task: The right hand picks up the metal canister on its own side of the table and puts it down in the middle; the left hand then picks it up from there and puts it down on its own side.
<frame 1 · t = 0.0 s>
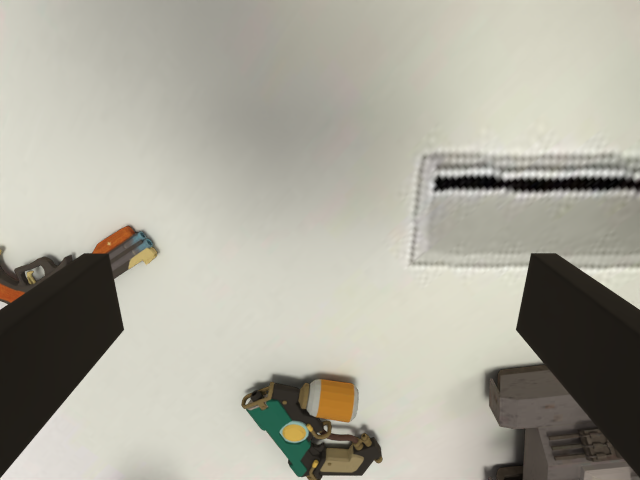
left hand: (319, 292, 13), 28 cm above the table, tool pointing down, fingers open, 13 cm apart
spray gun: (315, 420, 50), on the table
toy: (583, 420, 50), on the table
toy gun: (66, 260, 43), on the table
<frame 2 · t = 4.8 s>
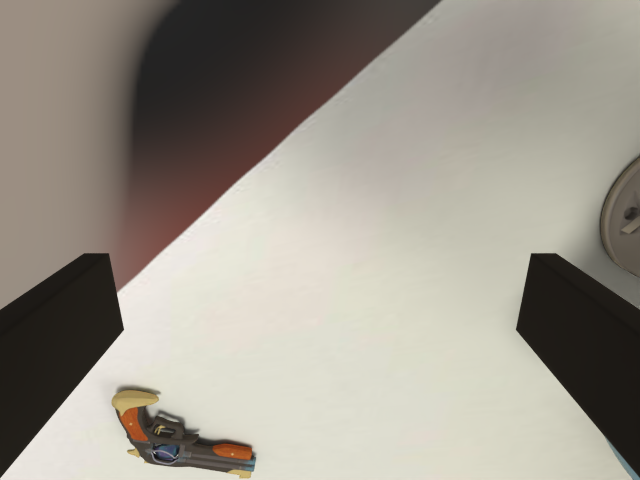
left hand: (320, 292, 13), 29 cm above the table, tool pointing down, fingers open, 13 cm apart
toy gun: (189, 428, 52), on the table
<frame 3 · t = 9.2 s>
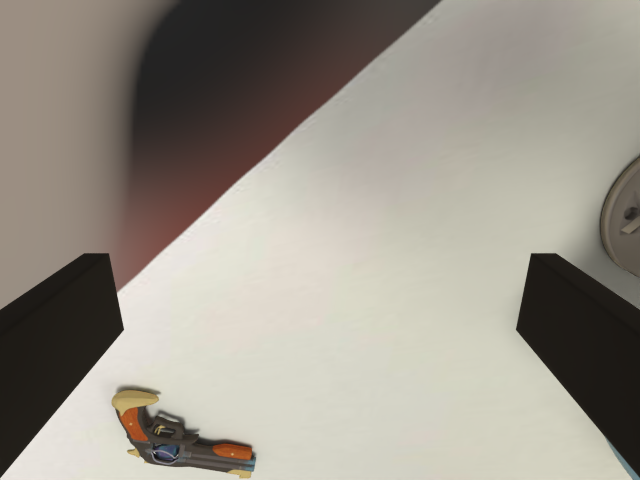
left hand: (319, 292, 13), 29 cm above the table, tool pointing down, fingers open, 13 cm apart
toy gun: (189, 428, 52), on the table
when the right hand's fingers open (5 cm above the table, at t = 13.5 s): canister drops 2 cm, on the table.
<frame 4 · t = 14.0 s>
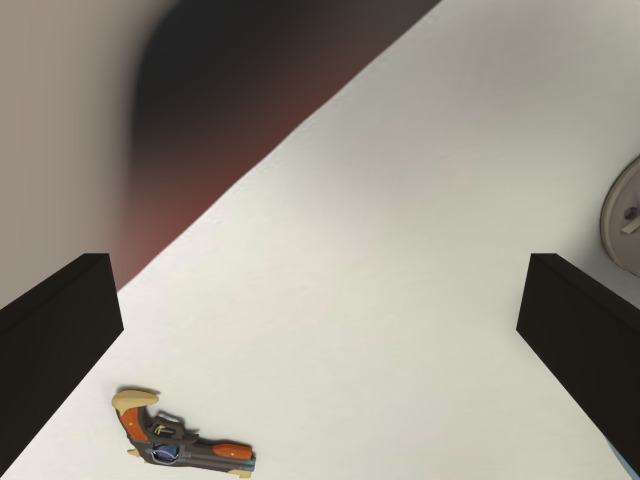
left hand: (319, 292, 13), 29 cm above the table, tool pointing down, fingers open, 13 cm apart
toy gun: (189, 428, 52), on the table
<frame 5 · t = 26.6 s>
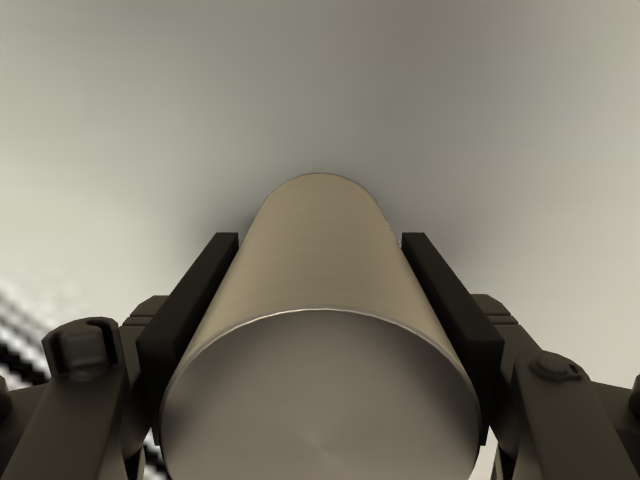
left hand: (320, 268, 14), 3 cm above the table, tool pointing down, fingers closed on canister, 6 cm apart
canister: (319, 238, 17), on the table, touching left hand
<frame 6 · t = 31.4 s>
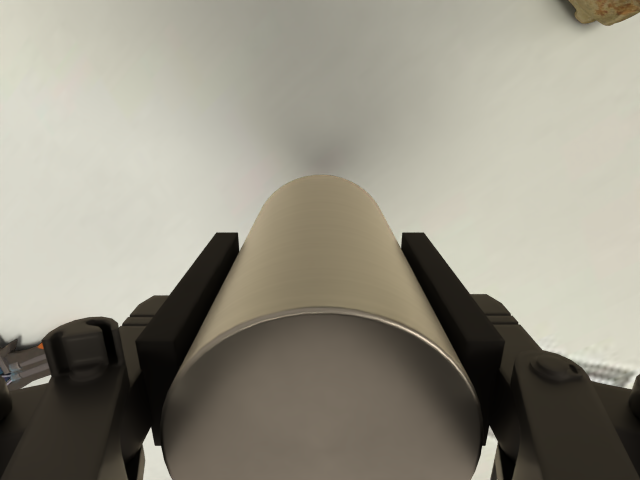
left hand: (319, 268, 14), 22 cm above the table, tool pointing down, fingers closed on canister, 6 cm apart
canister: (320, 240, 17), point 19 cm above the table, touching left hand
toy gun: (10, 340, 41), on the table
when the left hand's fingers open (5 cm above the table, at t = 36.4 s): canister drops 2 cm, on the table.
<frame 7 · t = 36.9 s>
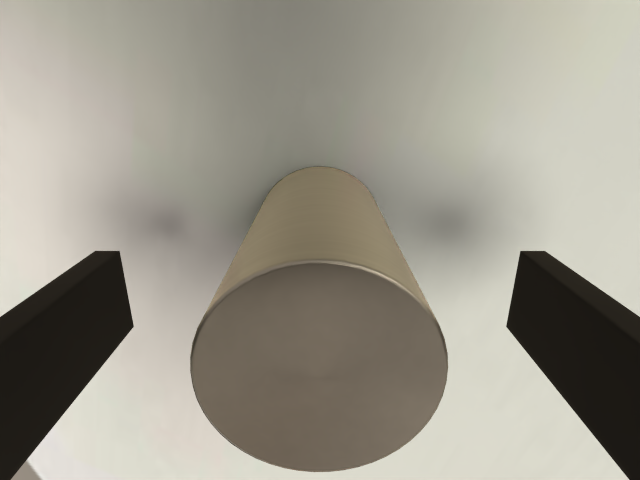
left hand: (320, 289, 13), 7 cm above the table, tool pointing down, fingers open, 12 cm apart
canister: (319, 226, 19), on the table
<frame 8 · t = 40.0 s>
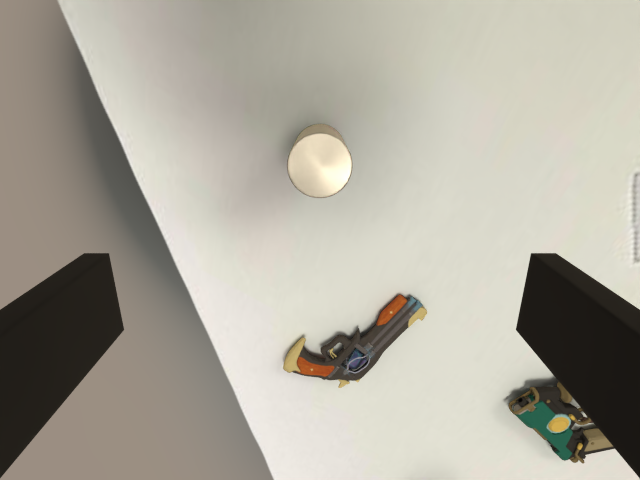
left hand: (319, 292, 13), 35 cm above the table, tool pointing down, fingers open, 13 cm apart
canister: (319, 150, 45), on the table
spray gun: (566, 410, 58), on the table
toy gun: (351, 332, 54), on the table
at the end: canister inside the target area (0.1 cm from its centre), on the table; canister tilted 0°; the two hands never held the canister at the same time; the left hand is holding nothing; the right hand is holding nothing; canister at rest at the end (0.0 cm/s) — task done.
